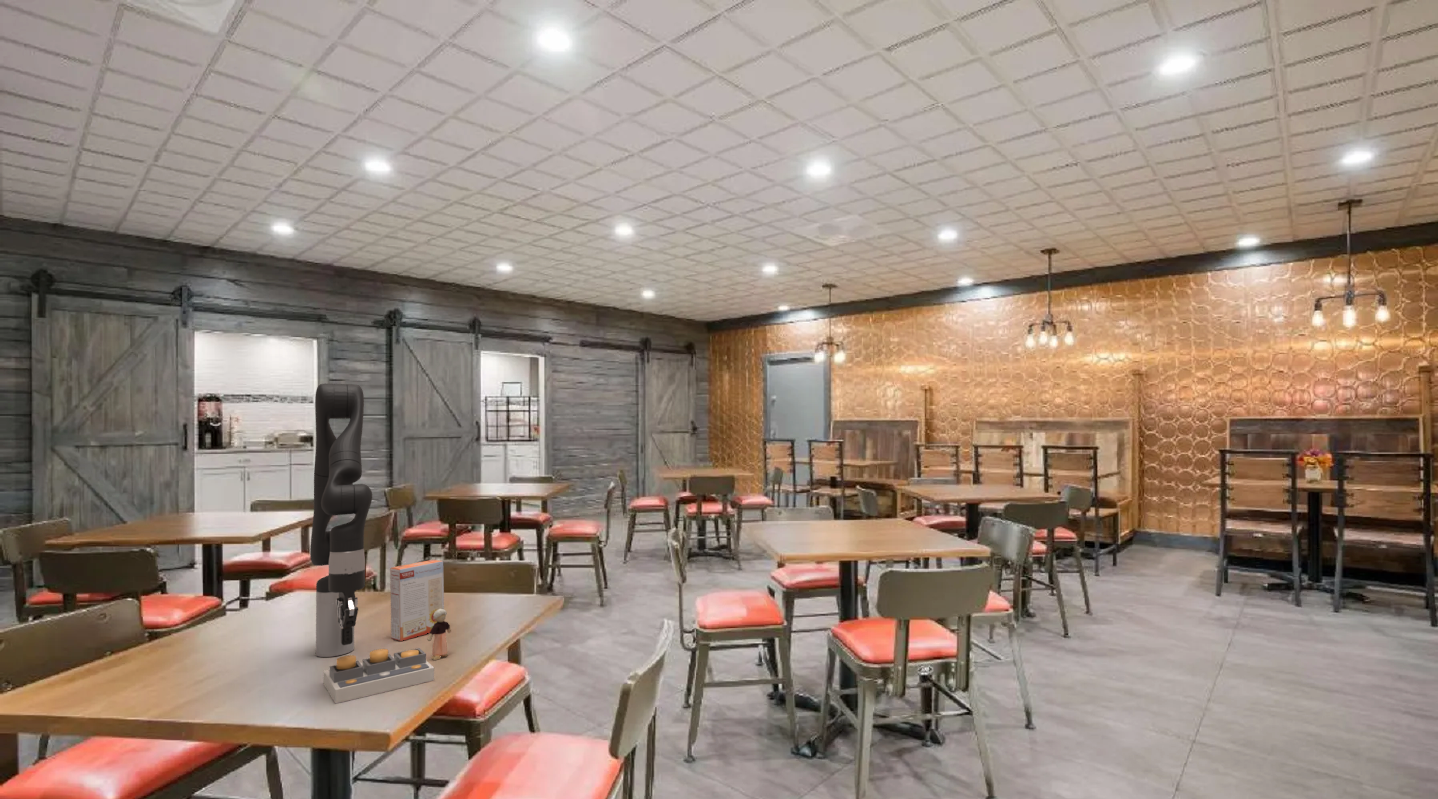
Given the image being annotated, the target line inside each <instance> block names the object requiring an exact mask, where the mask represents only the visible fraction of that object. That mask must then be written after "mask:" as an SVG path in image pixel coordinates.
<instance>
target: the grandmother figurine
mask: <svg viewBox="0 0 1438 799" xmlns="http://www.w3.org/2000/svg"><path fill="white" fill-rule="evenodd" d="M447 612H448V611H447V610H446V609H445V608H444V609H438V610H437V611H435V613H434V618H435V619H436V621H437V623H435V624H434V626H433V627H432V629H431V631H430V633H428V634H429V635H428V638H427V639H426V640H427V641H428V642H431V641H432V639H433V642H432V650H431V651H432V653H431V654H432V655H431V658H430V659H431V660H432V661H437V660H441V658H444V657H443V656H445V657H447V656H448V652H449V651H448V642H447V635H446V634H447V633H448V634H450V633H451V632H452V629H451V626H450V624H449V622H448V621H446V618H447V615H448V614H447ZM446 632H447V633H446ZM433 636H434V638H433ZM440 656H441V657H440Z"/></svg>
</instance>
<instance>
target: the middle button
mask: <svg viewBox="0 0 1438 799" xmlns="http://www.w3.org/2000/svg"><path fill="white" fill-rule="evenodd" d="M388 654H389V649H387V648H378V649H374V650H371V651H370V652H369V658H370V662H371V663H378V662H383V661H386V660H388Z"/></svg>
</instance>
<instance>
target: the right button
mask: <svg viewBox="0 0 1438 799" xmlns="http://www.w3.org/2000/svg"><path fill="white" fill-rule="evenodd" d="M407 650H408V651H407ZM407 650H403V651H404V652H402V651H401V652H402V653H401V658H405V657H409V656H414V655H419V651H418V650H412V649H407Z"/></svg>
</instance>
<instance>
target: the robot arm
mask: <svg viewBox="0 0 1438 799" xmlns="http://www.w3.org/2000/svg"><path fill="white" fill-rule="evenodd" d="M314 395H315V397H314V401H315V402H314V410H315V411H314V412H315V453H314V454H315V456H314V468H313V469H314V470H313V518H312V524H311V525H312V526H311V536H310V546H309V547H310V548H309V554H310V555H309V556H310V561H311V563H312V565H314V566H316V567H319V566H320V567H321V566H328V575H325V576H323V577H322V578H319V579H318V580H317V581H316V584H315V586H316V588H315V590H316V593H315V596H316V597H315V601H316V602H315V606H316V607H315V656H316V657H321V658H330V657H331V658H332V657H338V656H341V655H342V656H343V655H346V654H348V653H351V652H353V651H354V649H355V627H356V624H357V622H356V621H357V617H358V612H359V607H358V604H359V603H358V602H359V601H358V597H356V593H355V592H356V591H359V590H361V589H364V587H366V585H365V584H366V580H365V578H366V577H365V576H366V557H365V549H364V548H365V546H364V545H365V544H364V543H365V542H364V541H365V539H364V538H365V537H364V534H365V525H366V520H367V518H368V514H369V511H370V509H371V508H370V507H371V505H372V503H373V502H372V501H373V492H372V490H371V488H370V486H368V485H367V484H366V483H365V484H363V483H357V484H354V483H356V482H358V481H359V480H360V479H361V478H362V474H363V470H362V469H363V468H362V453H361V448H362V447H361V445H362V437H363V429H364V428H363V427H364V424H363V423H364V411H365V410H364V408H365V397H364V390H363V388H362V387H361V386H360V385H358V384H352V383H348V384H347V383H321V384H319V385H317V387H316V390H315V394H314ZM330 419H331V420H332V419H335V420H336V419H338V420H341V419H345V420H346V419H349V421H348V424H347V426H346V427H345V429H344V430H343V431H342V432H341V433H340V434H339V435H338V437H336V436H335V433H334V431H333V429H332V427H331V424H330ZM341 515H343V516H344V515H345V516H346V515H354V517H353V518H352V520H351V521H348V522H346V523H342V524H338V525H335V526H333V527H332V528H331V529H330V530H328V531H327V528H328V526H329V522H330V521H331V519H332V518H333V516H341Z"/></svg>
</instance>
